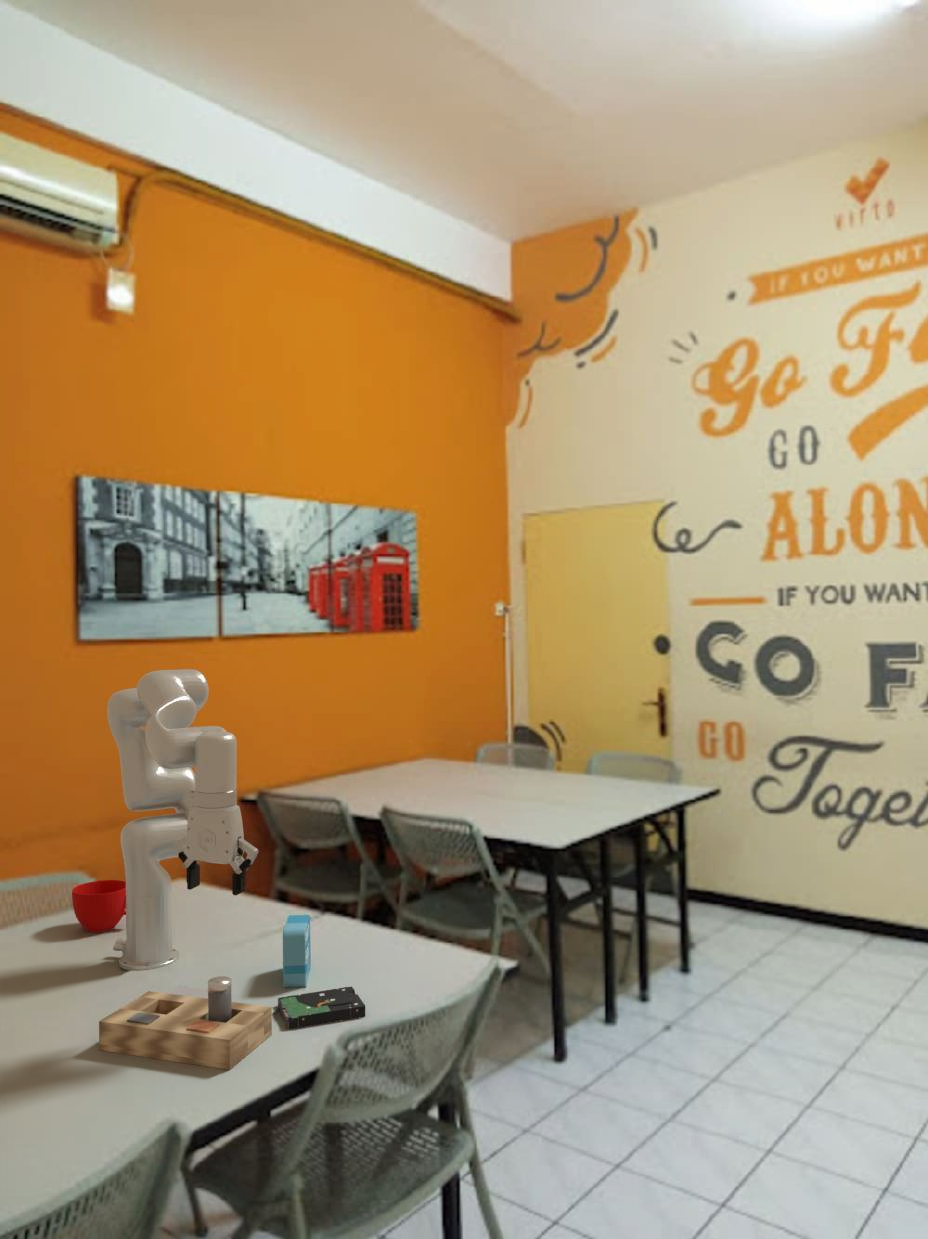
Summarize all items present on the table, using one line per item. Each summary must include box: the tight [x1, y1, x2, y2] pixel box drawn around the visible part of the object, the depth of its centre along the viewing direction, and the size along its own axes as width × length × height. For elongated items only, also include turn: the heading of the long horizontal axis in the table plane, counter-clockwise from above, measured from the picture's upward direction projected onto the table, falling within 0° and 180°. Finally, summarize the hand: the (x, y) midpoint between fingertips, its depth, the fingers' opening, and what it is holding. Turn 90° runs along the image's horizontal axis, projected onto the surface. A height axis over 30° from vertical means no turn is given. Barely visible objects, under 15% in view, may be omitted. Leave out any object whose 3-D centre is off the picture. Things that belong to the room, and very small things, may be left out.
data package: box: [282, 914, 312, 988], centre depth 199 cm, size 12×4×12 cm, turn 4°
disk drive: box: [277, 986, 366, 1030], centre depth 182 cm, size 10×3×15 cm
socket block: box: [98, 990, 273, 1071], centre depth 170 cm, size 26×14×5 cm, turn 72°
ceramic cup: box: [71, 879, 126, 933], centre depth 233 cm, size 13×17×10 cm
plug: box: [207, 975, 233, 1023], centre depth 169 cm, size 4×4×10 cm
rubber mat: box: [166, 984, 208, 999], centre depth 188 cm, size 10×10×1 cm
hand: (215, 890), depth 178 cm, fingers open, 9 cm apart
